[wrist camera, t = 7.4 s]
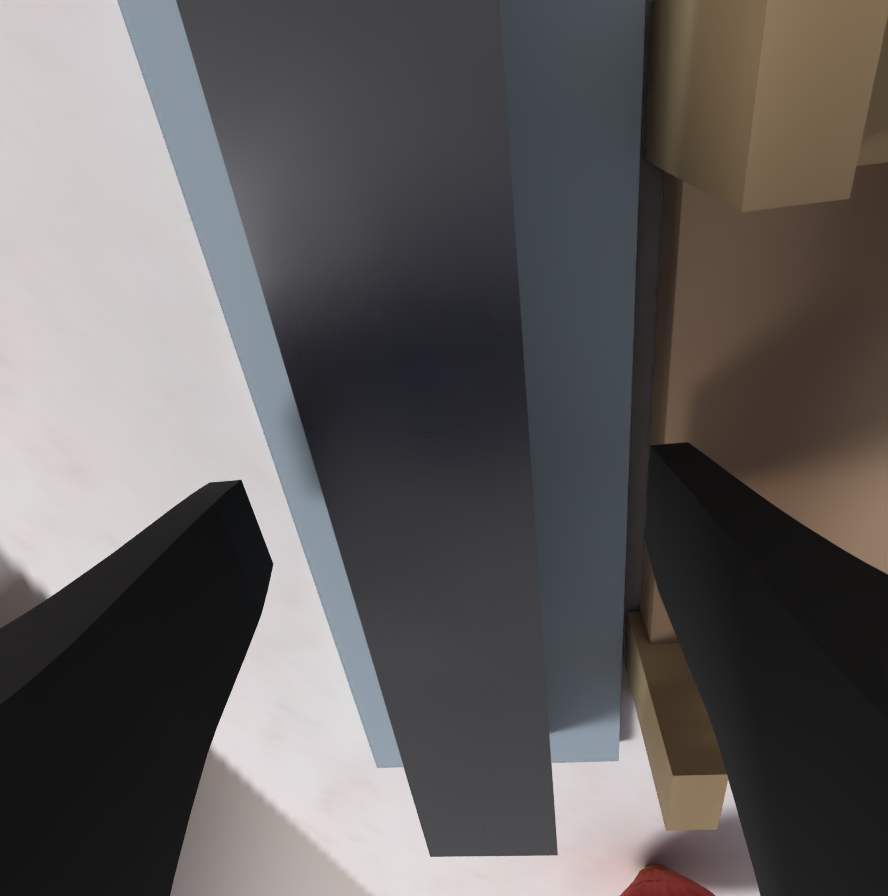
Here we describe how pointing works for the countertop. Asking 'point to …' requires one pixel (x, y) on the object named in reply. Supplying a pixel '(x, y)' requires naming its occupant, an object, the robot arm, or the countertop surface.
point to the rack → (765, 304)
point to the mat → (543, 332)
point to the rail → (404, 365)
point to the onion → (663, 884)
